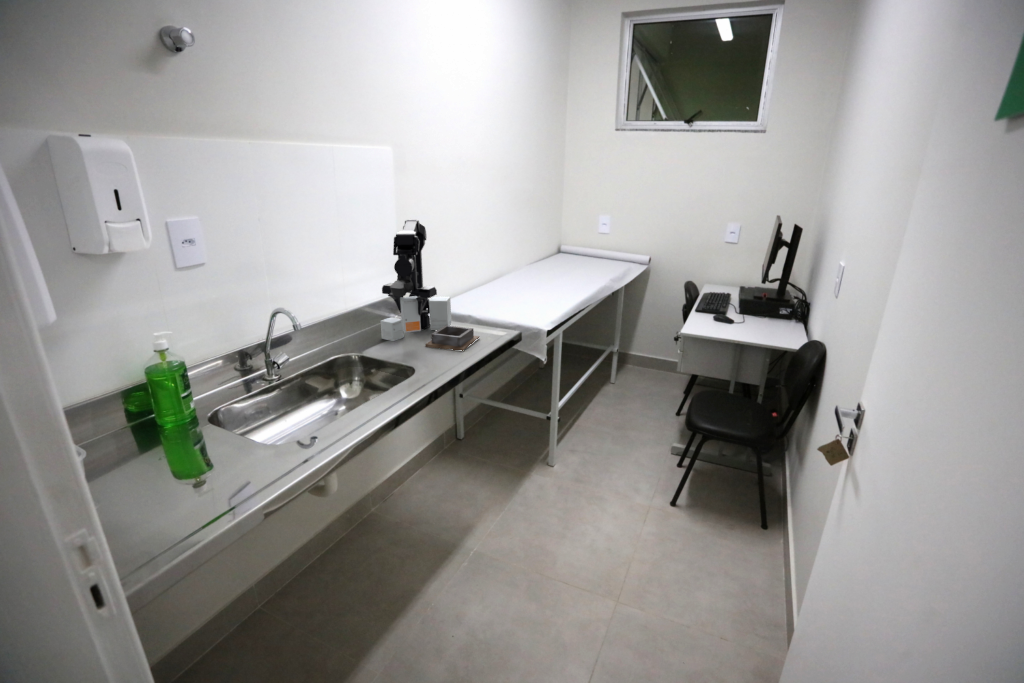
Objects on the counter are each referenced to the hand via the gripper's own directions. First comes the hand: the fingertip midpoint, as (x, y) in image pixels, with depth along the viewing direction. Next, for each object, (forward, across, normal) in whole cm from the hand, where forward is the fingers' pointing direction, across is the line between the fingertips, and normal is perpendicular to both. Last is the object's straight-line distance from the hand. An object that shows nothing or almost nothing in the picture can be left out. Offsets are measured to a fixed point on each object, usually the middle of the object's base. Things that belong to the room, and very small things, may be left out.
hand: (410, 314), depth 178 cm
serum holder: (+13, +11, +11) cm, 20 cm away
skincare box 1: (+13, -13, +8) cm, 20 cm away
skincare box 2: (+6, 0, 0) cm, 6 cm away
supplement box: (+13, -1, +25) cm, 28 cm away
